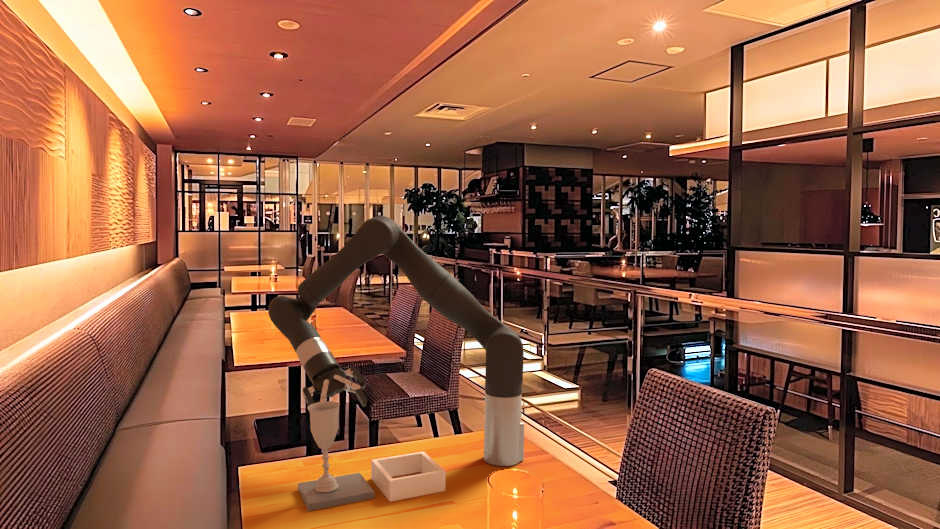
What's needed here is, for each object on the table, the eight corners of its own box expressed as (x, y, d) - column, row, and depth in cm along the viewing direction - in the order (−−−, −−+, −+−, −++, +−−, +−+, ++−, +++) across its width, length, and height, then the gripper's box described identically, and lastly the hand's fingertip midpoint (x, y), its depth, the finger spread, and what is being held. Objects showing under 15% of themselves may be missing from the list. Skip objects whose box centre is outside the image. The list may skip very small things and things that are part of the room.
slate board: (359, 479, 141) (359, 472, 141) (374, 498, 131) (374, 491, 131) (298, 489, 135) (297, 483, 135) (308, 511, 125) (308, 503, 125)
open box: (423, 469, 147) (423, 451, 147) (445, 490, 135) (445, 471, 135) (371, 478, 141) (371, 459, 141) (389, 501, 130) (390, 481, 129)
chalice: (334, 495, 128) (331, 411, 127) (304, 493, 130) (301, 410, 129) (348, 481, 135) (345, 401, 134) (319, 479, 137) (316, 400, 136)
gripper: (289, 364, 143) (321, 420, 136) (344, 340, 150) (376, 392, 143) (290, 380, 149) (320, 434, 142) (343, 356, 156) (374, 406, 149)
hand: (348, 413), depth 142 cm, fingers open, 8 cm apart
